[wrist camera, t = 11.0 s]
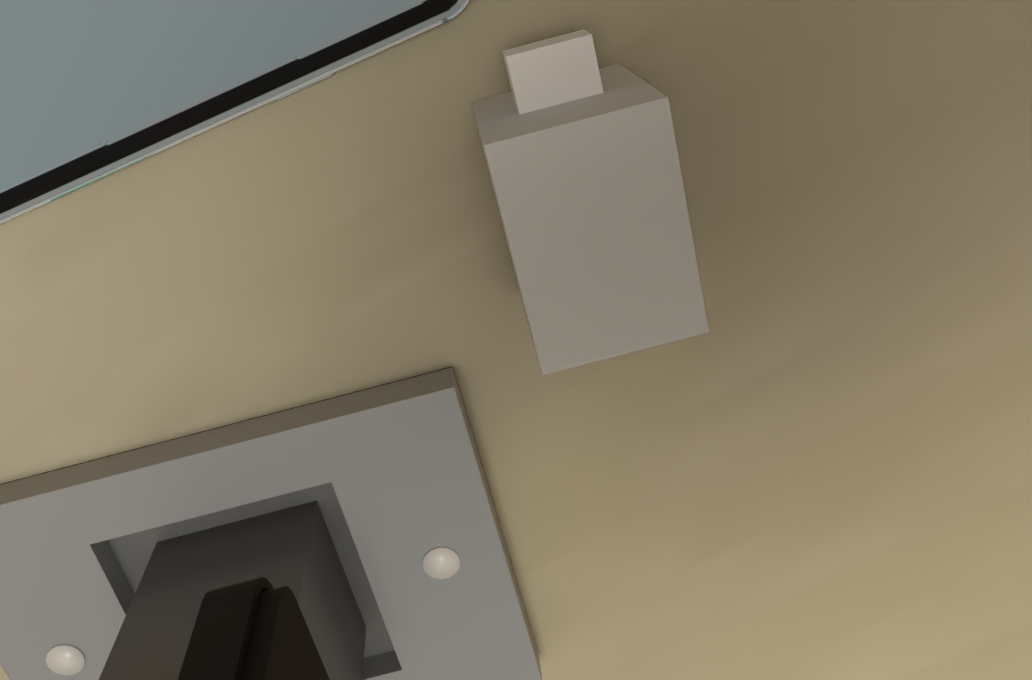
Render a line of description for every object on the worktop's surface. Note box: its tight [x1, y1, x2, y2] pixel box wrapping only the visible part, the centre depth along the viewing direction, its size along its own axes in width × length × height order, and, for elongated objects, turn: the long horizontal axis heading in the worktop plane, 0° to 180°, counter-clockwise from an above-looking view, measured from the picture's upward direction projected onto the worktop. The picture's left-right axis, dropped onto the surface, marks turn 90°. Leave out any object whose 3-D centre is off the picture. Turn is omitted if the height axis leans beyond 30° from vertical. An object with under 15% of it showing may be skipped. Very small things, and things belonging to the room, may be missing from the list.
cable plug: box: [471, 29, 709, 375], centre depth 21 cm, size 4×6×5 cm, turn 13°
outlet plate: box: [0, 367, 542, 680], centre depth 27 cm, size 14×10×1 cm
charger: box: [99, 500, 366, 680], centre depth 24 cm, size 4×4×7 cm
